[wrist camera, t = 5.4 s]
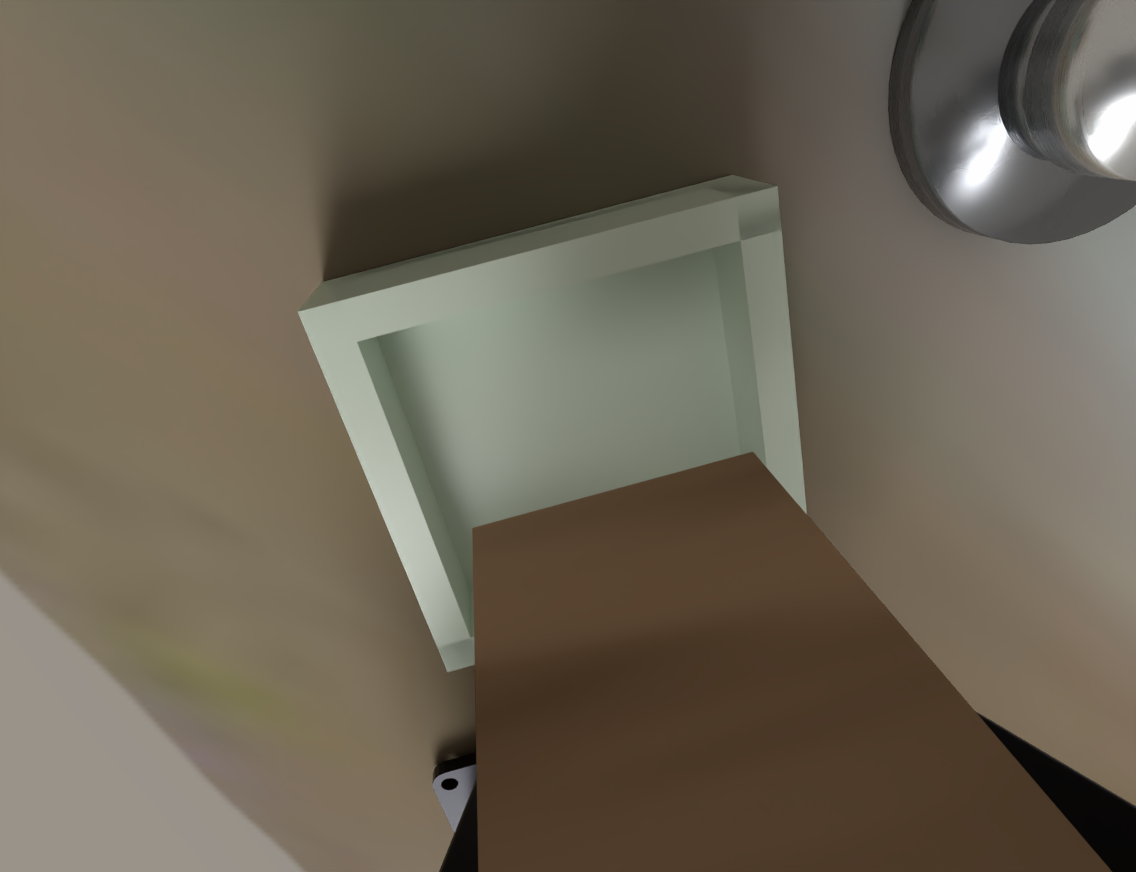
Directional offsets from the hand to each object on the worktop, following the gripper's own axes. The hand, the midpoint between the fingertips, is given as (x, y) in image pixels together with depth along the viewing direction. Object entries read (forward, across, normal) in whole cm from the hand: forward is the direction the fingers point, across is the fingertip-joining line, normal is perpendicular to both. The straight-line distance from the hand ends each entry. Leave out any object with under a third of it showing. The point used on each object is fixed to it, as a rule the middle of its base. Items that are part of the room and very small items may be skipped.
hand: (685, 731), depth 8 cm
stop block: (+2, 0, 0) cm, 2 cm away
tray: (+9, 0, 0) cm, 9 cm away
